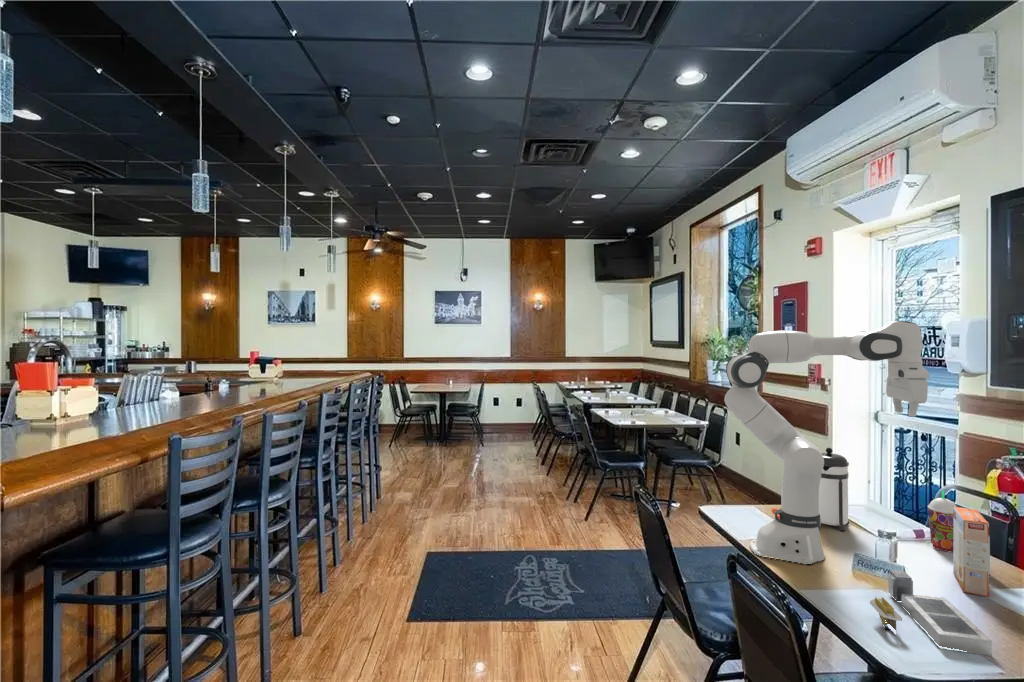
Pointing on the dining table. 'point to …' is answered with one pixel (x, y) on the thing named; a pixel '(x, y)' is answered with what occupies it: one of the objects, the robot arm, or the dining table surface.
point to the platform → (886, 612)
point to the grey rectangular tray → (946, 624)
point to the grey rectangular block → (899, 584)
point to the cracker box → (971, 551)
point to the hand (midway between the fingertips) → (905, 414)
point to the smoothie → (941, 523)
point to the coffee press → (834, 490)
